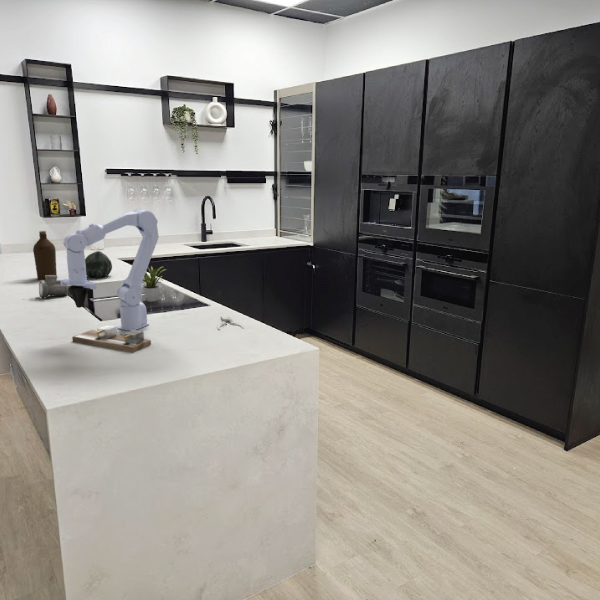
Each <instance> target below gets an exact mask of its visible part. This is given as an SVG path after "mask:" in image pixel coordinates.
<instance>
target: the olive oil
mask: <svg viewBox="0 0 600 600" xmlns="http://www.w3.org/2000/svg"><path fill="white" fill-rule="evenodd" d="M38 236H39V239H38V240H37V241H36V243H34V245H33V247H32V249H33V250H32V252H33V257H34V263H35V270H36V277H37V280H40V281H41V280H46V278H45V275H55V276H57V277H58V274H57V255H56V247H55V244H54V243H53V242H52V241H51V240H49V239H48V238H47V231H46V230H40V231H39V235H38Z"/></svg>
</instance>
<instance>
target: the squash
mask: <svg viewBox="0 0 600 600" xmlns="http://www.w3.org/2000/svg"><path fill="white" fill-rule="evenodd" d="M112 263H113V262H112V261H111V259H110V258H109V257H108V256H107V255H106V254H105V253H103V252H102V251H100V250H99V251H98V250H96V251H94V252H92V253H90V254H88V255H87V256H85V265H86V276H87V277H97V278H106V276H109V275H110V273H111V272H112V269H113V264H112Z"/></svg>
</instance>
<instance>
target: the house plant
mask: <svg viewBox="0 0 600 600" xmlns="http://www.w3.org/2000/svg"><path fill="white" fill-rule="evenodd" d="M164 267H165V266H160V267H159V268H156V269H154V268H153V266H152V265H151V266H150V267H149V265H148V267H147V270H148V272H149V274H148V272H147V271H146V272H145V275H144V278H143V280H142V284H145V285H144V286H143V289H142V290H143V293H144V298H145V301H146V302H149V303H151V302H152V303H154V302H157V301H158V300H159V293H160V285H157V283H160V284H162V282H163V281H164V279H161V278H162V277H163V275H161V276H160V274H161V273H163V272H164V271H167V270H168V269H166V268H165V269H162V268H164ZM161 269H162V270H161ZM160 270H161V271H160ZM158 272H159V273H158Z"/></svg>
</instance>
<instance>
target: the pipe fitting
mask: <svg viewBox="0 0 600 600" xmlns="http://www.w3.org/2000/svg"><path fill="white" fill-rule="evenodd" d="M45 278H46V280H40V281H39V284H38V293H39V298H41V299H46V298H48V297H49V296H67V295H69V293H70V292H69V291H68V288H70V286H68V285H61V282H60V280H61V279H58V275H57V276H55V275H45Z"/></svg>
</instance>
